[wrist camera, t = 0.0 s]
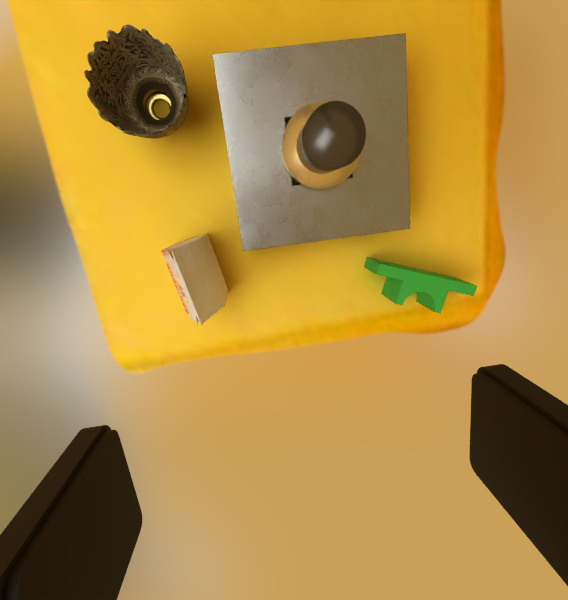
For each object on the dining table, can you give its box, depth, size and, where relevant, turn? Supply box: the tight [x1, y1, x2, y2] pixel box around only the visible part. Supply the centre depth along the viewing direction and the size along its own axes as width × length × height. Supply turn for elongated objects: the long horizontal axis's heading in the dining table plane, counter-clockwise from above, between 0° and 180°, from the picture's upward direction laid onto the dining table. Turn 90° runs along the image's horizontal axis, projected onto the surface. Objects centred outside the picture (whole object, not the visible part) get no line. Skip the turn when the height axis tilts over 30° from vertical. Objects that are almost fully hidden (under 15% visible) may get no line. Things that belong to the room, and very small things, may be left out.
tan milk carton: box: [162, 233, 229, 325], centre depth 34 cm, size 4×7×10 cm, turn 17°
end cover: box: [281, 101, 366, 189], centre depth 30 cm, size 7×7×11 cm
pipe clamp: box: [364, 258, 477, 313], centre depth 39 cm, size 11×4×5 cm, turn 77°
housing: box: [212, 33, 410, 251], centre depth 34 cm, size 16×16×6 cm
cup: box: [84, 25, 189, 138], centre depth 31 cm, size 8×7×8 cm
